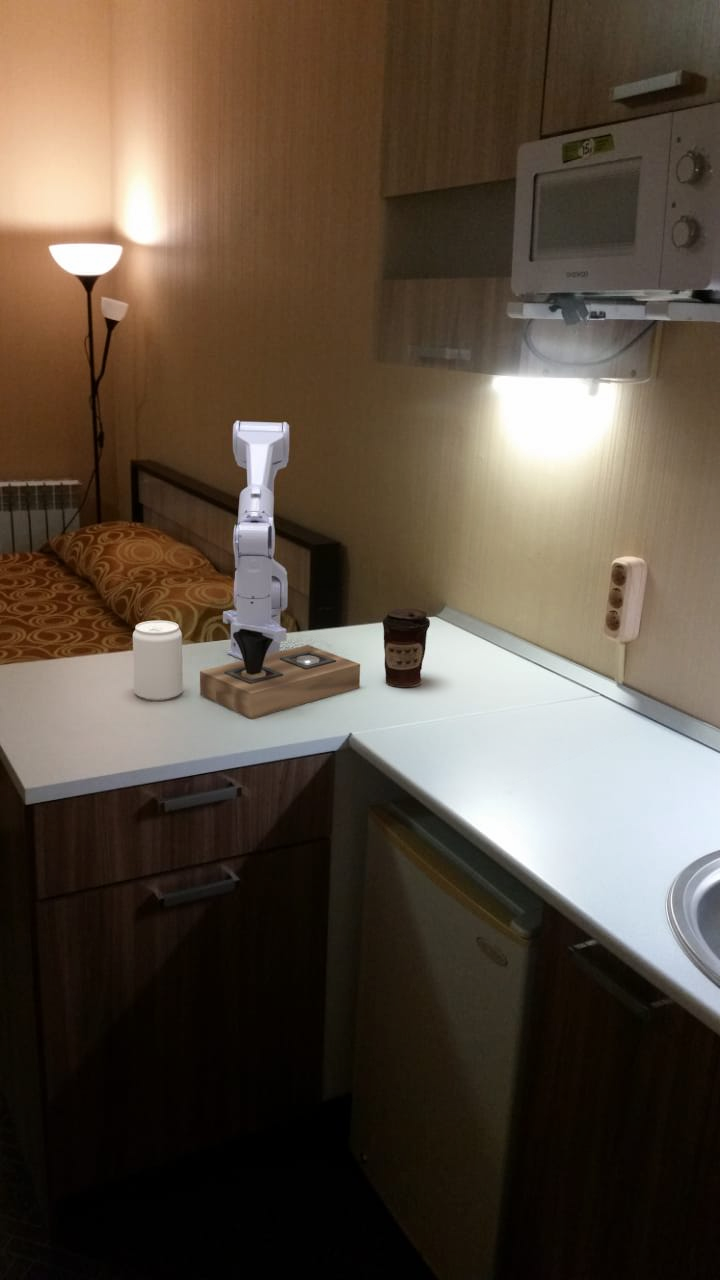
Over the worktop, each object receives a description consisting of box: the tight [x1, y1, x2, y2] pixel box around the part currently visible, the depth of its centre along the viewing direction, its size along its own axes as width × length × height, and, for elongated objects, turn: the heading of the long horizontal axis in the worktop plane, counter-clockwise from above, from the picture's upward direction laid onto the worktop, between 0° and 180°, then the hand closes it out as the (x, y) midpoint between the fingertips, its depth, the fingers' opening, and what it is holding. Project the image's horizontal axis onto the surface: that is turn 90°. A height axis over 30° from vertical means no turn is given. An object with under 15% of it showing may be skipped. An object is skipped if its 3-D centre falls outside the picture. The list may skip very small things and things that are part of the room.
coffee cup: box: [382, 608, 431, 688], centre depth 192 cm, size 9×8×13 cm
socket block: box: [199, 644, 361, 720], centre depth 187 cm, size 14×24×5 cm, turn 134°
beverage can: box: [132, 620, 184, 701], centre depth 183 cm, size 8×8×12 cm
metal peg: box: [297, 656, 319, 665], centre depth 191 cm, size 4×4×4 cm
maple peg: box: [242, 670, 266, 680], centre depth 183 cm, size 4×4×4 cm
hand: (253, 672), depth 182 cm, fingers closed, pressing on maple peg
